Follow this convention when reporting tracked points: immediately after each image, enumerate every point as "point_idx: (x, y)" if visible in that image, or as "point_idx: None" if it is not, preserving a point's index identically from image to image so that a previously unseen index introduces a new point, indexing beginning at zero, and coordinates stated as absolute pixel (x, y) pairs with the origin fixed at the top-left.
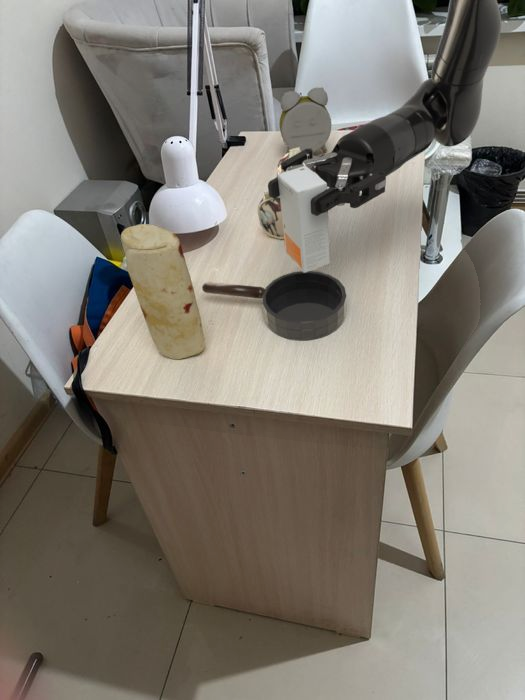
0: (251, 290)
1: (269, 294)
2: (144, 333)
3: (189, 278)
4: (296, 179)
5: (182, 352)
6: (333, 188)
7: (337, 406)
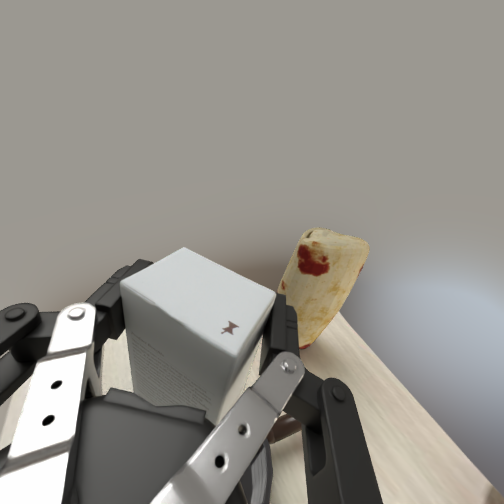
0: (279, 419)
1: (260, 448)
2: (329, 339)
3: (287, 279)
4: (213, 279)
5: None
6: (101, 302)
7: (109, 338)
